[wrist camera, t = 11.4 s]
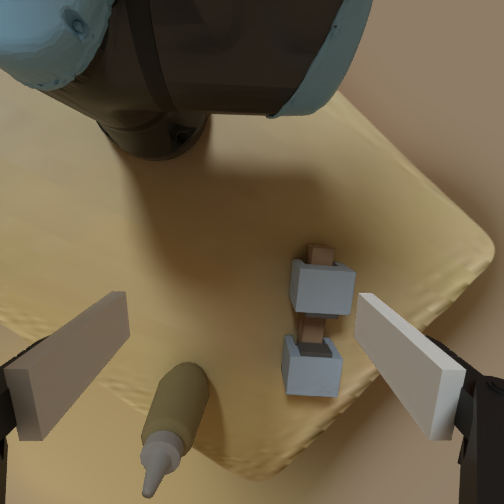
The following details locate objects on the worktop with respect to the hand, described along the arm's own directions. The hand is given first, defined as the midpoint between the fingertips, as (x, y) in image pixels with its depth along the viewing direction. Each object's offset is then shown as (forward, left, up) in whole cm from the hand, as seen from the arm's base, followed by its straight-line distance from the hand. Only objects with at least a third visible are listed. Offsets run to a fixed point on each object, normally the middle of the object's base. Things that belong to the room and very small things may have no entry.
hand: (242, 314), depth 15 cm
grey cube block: (+5, +11, -25) cm, 28 cm away
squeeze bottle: (+23, -8, -26) cm, 36 cm away
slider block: (+17, +11, -25) cm, 32 cm away
